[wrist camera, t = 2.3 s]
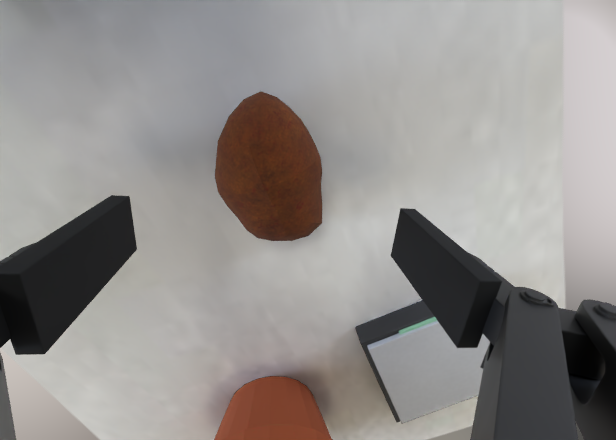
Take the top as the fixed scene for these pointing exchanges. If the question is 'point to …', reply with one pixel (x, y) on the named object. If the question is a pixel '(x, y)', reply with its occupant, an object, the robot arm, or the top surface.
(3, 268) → the robot arm
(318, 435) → the potted plant
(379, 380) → the scale
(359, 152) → the top surface
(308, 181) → the potato
